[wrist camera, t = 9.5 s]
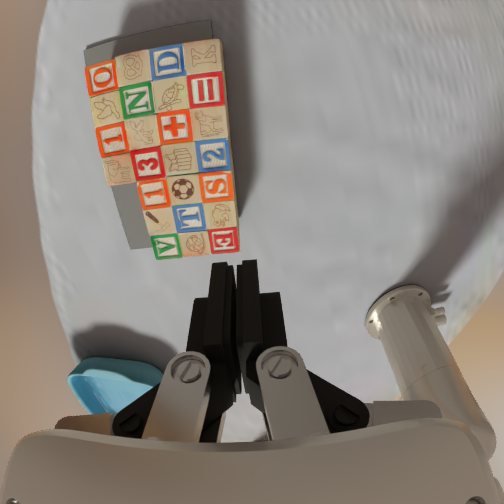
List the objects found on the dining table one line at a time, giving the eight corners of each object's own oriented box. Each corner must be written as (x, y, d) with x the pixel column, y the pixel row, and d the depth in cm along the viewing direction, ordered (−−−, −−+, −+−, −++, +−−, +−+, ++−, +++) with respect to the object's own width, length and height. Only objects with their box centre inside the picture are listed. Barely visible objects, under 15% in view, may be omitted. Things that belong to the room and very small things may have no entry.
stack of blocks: (241, 254, 33) (131, 263, 33) (240, 224, 38) (143, 234, 38) (219, 36, 20) (81, 66, 20) (222, 41, 25) (107, 64, 25)
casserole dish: (62, 336, 50) (50, 365, 44) (169, 346, 52) (163, 380, 46) (115, 419, 71) (111, 441, 65) (192, 427, 72) (191, 450, 67)
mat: (210, 20, 24) (210, 19, 24) (235, 236, 39) (235, 238, 39) (85, 50, 24) (83, 50, 24) (131, 247, 39) (130, 249, 39)
